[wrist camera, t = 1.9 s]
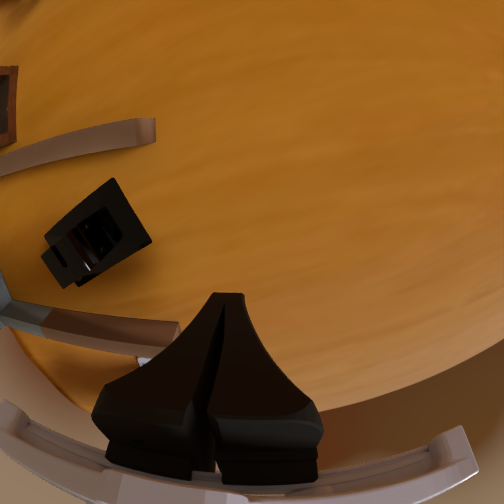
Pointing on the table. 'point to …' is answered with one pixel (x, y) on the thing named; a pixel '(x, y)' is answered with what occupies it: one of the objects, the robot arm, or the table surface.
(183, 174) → the table surface
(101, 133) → the bay
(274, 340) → the table surface
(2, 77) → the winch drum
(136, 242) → the black holder block
